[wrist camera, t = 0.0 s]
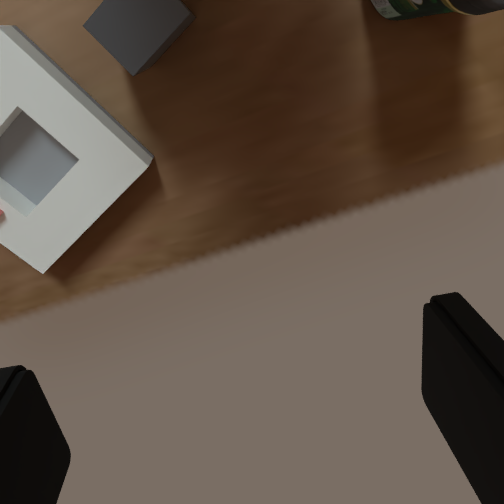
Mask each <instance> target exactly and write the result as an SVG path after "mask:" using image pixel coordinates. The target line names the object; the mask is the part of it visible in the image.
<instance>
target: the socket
mask: <svg viewBox="0 0 504 504" xmlns="http://www.w3.org/2000/svg"><path fill="white" fill-rule="evenodd" d="M153 157H154V155H152V154H151V153H150V152H149V151H148V150H147V149H146V148H145V147H144V146H143V145H142V144H141V143H140V142H139V141H138V140H137V139H135V138H134V137H133V136H132V135H131V134H130V133H129V132H128V131H127V130H126V129H125V128H124V127H123V126H122V125H121V124H120V123H119V122H117V121H116V120H115V119H114V118H113V117H112V116H111V115H110V114H109V113H108V112H107V111H106V110H105V109H104V108H103V107H102V106H100V105H99V104H98V103H97V102H96V101H95V100H94V99H93V98H92V97H91V96H90V95H89V94H88V93H87V92H86V91H85V90H84V89H82V88H81V87H80V86H79V85H78V84H77V83H76V82H75V81H74V80H73V79H72V78H71V77H70V76H69V75H68V74H67V73H65V72H64V71H63V70H62V69H61V68H60V67H59V66H58V65H57V64H56V63H55V62H54V61H53V60H52V59H51V58H50V57H48V56H47V55H46V54H45V53H44V52H43V51H42V50H41V49H40V48H39V47H38V46H37V45H36V44H35V43H34V42H33V41H32V40H30V39H29V38H28V37H27V36H26V35H25V34H24V33H23V32H22V31H21V30H20V29H19V28H18V27H17V26H10V25H0V243H1V244H2V245H4V246H5V247H6V248H8V249H9V250H11V251H12V252H13V253H15V254H16V255H17V256H19V257H20V258H21V259H23V260H24V261H26V262H27V263H28V264H30V265H31V266H32V267H34V268H35V269H37V270H38V271H39V272H41V273H42V274H43V273H44V272H45V271H46V270H47V269H48V268H49V267H50V266H51V265H52V264H53V263H54V262H55V261H56V260H57V259H58V258H59V257H60V256H61V255H62V254H63V253H64V252H65V251H66V250H67V249H68V248H69V247H70V246H71V245H72V244H73V243H74V242H75V241H76V240H77V239H78V238H79V237H80V236H81V235H82V234H83V233H84V232H85V231H86V230H87V229H88V228H89V227H90V226H91V225H92V224H93V223H94V222H95V221H96V220H97V219H98V218H99V216H100V215H101V214H102V213H103V212H104V211H105V210H106V209H107V208H108V207H109V206H110V205H111V204H112V203H113V202H114V201H115V200H116V199H117V198H118V197H119V196H120V195H121V194H122V193H123V192H124V191H125V190H126V189H127V188H128V187H129V186H130V185H131V184H132V183H133V182H134V181H135V180H136V179H137V178H138V177H139V176H140V175H141V174H142V173H143V172H144V171H145V170H146V169H147V168H148V167H149V165H150V163H151V161H152V159H153Z"/></svg>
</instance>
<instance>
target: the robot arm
mask: <svg viewBox="0 0 504 504" xmlns="http://www.w3.org/2000/svg"><path fill="white" fill-rule="evenodd" d="M422 395H423V399H424V402H425V404H426V406H427V408H428V410H429V411H430V413H431V415H432V417H433V418H434V420H435V422H436V424H437V425H438V427H439V429H440V431H441V433H442V434H443V436H444V438H445V440H446V441H447V443H448V445H449V447H450V449H451V450H452V452H453V454H454V455H455V457H456V459H457V461H458V463H459V464H460V466H461V468H462V470H463V471H464V473H465V475H466V477H467V479H468V480H469V482H470V484H471V486H472V487H473V489H474V491H475V493H476V495H477V496H478V498H479V500H480V502H481V503H482V504H504V340H503V339H502V338H501V337H500V336H499V335H498V334H497V333H496V332H495V331H494V330H493V329H492V328H491V327H490V325H489V324H488V323H487V322H486V321H485V320H484V319H483V318H482V317H481V316H480V315H479V314H478V313H477V312H476V310H475V309H474V308H473V307H472V306H471V305H470V304H469V303H468V302H467V301H466V300H465V299H464V298H463V297H462V296H461V295H460V294H459V293H457V292H454V293H448V294H442V295H436V296H432V297H431V299H430V303H426V304H425V305H424V308H423V345H422ZM70 457H71V453H70V449H69V446H68V444H67V442H66V440H65V437H64V435H63V434H62V431H61V429H60V427H59V425H58V423H57V421H56V418H55V416H54V414H53V412H52V410H51V408H50V406H49V404H48V402H47V399H46V397H45V395H44V393H43V391H42V389H41V387H40V385H39V383H38V381H37V378H36V376H35V374H34V373H33V372H32V371H31V370H26V368H25V367H23V366H22V365H18V366H11V367H6V368H0V504H56V503H57V500H58V497H59V494H60V491H61V488H62V485H63V482H64V479H65V476H66V473H67V470H68V467H69V464H70Z"/></svg>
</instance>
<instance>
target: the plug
mask: <svg viewBox="0 0 504 504" xmlns="http://www.w3.org/2000/svg"><path fill="white" fill-rule="evenodd" d="M195 18H196V17H195V16H194V15H193V14H192V12H191V11H190V10H189V9H188V8H187V7H186V6H185V4H184V3H183V2H182V1H181V0H104V1H103V2H102V3H101V5H100V6H99V7H98V8H97V9H96V10H95V12H94V13H93V14H92V15H91V16H90V18H89V19H88V20H87V21H86V22H85V24H84V25H83V27H84V28H85V29H86V30H87V31H88V32H89V33H90V34H91V35H92V36H93V37H94V38H95V39H96V40H97V41H98V42H99V43H100V44H101V45H102V46H103V47H104V48H105V49H106V50H107V51H108V52H109V53H110V54H111V55H112V56H113V57H114V58H115V59H116V60H117V61H118V62H119V63H120V64H121V65H122V66H123V67H124V68H125V69H126V70H127V71H128V72H129V73H130V74H131V75H132V76H135V75H137V74H139V73H140V72H142V71H144V70H146V69H148V68H150V67H151V66H152V65H153V64H154V63H155V62H156V61H157V60H158V59H159V58H160V56H161V55H162V54H163V53H164V52H165V51H166V50H167V49H168V48H169V47H170V46H171V44H172V43H173V42H174V41H175V40H176V39H177V38H178V37H179V36H180V35H181V33H182V32H183V31H184V30H185V29H186V28H187V27H188V26H189V25H190V24H191V23H192V21H193V20H194V19H195Z"/></svg>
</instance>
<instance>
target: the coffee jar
mask: <svg viewBox="0 0 504 504" xmlns="http://www.w3.org/2000/svg"><path fill="white" fill-rule="evenodd" d="M371 2H372V3H373V5H374V7H375V8H376V10H377V11H378V12H379V13H380V14H381V15H382V16H383V17H385V18H387V19H389V20H405V19H412V18H417V17H423V16H429V15H435V14H442V13H448V12H457V13H460V14H465V15H481V14H486V13H490V12H494V11H498V10H502V9H504V0H371Z"/></svg>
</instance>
